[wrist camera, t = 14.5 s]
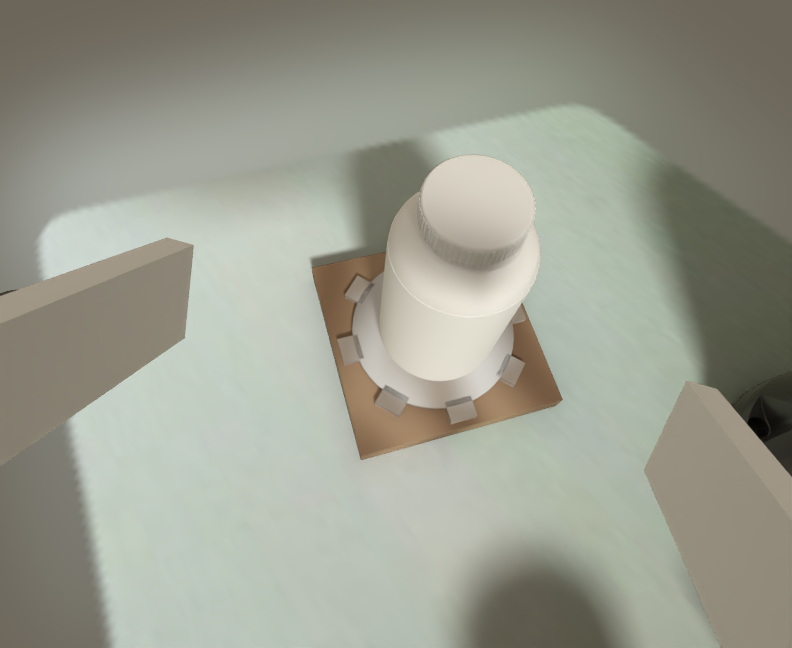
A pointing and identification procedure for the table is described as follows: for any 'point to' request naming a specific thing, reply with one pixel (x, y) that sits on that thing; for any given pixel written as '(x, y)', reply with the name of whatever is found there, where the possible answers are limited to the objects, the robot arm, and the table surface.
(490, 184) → the pill bottle
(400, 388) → the gear board
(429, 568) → the table surface
